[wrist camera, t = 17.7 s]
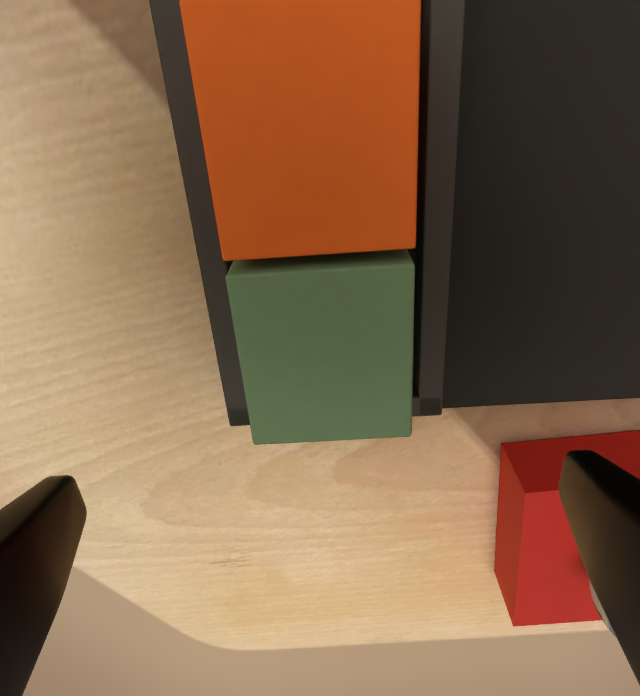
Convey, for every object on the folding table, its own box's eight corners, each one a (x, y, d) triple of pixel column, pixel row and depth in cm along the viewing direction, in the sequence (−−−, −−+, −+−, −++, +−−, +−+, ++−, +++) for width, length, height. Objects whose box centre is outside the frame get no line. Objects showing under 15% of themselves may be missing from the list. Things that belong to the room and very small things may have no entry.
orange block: (245, 218, 15) (222, 261, 11) (217, 18, 13) (177, -4, 9) (394, 208, 15) (416, 249, 11) (394, 3, 12) (422, -25, 9)
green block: (266, 371, 18) (253, 445, 14) (246, 229, 15) (224, 276, 12) (393, 364, 17) (411, 437, 14) (393, 219, 15) (415, 263, 11)
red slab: (637, 559, 24) (731, 704, 19) (494, 571, 25) (544, 715, 19) (671, 427, 20) (801, 559, 15) (501, 443, 21) (565, 577, 15)
